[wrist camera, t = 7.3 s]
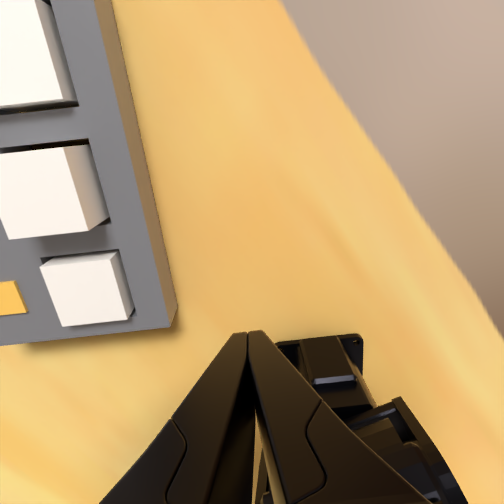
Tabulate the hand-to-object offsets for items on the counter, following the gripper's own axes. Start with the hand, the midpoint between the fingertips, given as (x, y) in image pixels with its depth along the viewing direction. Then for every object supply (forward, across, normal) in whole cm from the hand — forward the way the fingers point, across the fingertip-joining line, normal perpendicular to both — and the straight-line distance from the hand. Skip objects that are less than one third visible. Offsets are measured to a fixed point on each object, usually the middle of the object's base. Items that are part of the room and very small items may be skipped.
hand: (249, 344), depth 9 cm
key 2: (+11, +9, +2) cm, 15 cm away
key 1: (+11, +9, -10) cm, 18 cm away
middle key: (+10, +9, -4) cm, 14 cm away
